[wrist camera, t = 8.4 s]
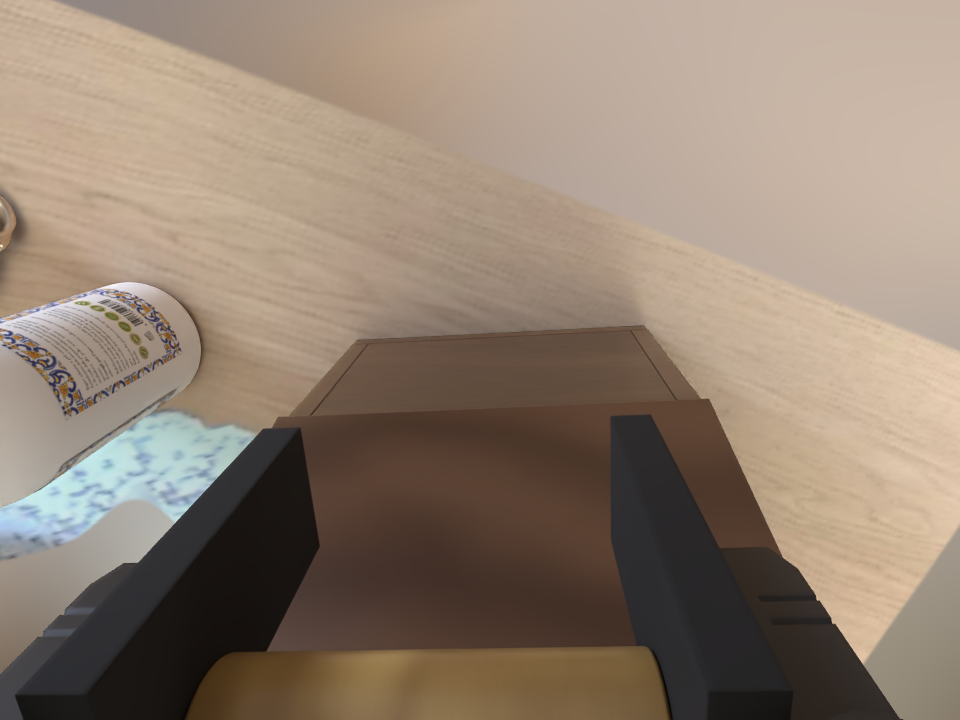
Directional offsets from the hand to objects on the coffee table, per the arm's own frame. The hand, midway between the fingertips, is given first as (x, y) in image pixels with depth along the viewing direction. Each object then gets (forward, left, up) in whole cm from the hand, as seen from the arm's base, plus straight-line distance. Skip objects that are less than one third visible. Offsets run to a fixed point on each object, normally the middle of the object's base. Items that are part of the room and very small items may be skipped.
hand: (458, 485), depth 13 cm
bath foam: (-2, +20, -22) cm, 30 cm away
